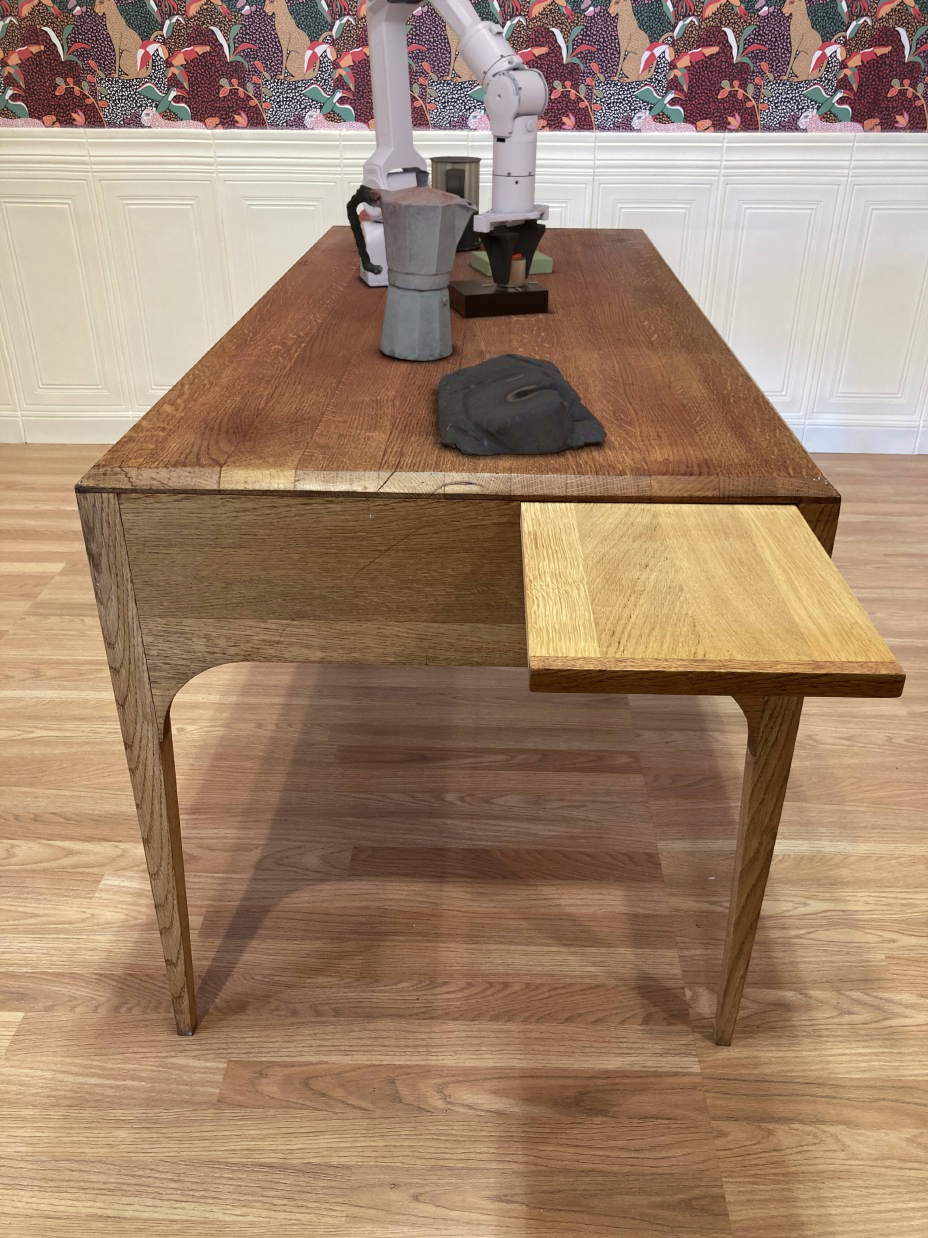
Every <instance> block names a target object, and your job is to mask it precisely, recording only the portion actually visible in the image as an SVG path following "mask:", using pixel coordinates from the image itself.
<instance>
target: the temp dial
mask: <svg viewBox="0 0 928 1238" xmlns="http://www.w3.org/2000/svg"><path fill="white" fill-rule="evenodd" d="M525 268H526V258H525V257H522V256H521V254H515V255H512V261H511V271H510V278H509V282H508V284H507V285H502V284H496V285H498V286H501V287H521V286H524V285H525Z"/></svg>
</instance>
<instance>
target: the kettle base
mask: <svg viewBox="0 0 928 1238" xmlns="http://www.w3.org/2000/svg"><path fill="white" fill-rule="evenodd" d="M553 261H554V259H553V257H550V256H549V255H546V254H545V253H542V252H540V251H538V250H536V251H535V254H534V257H533V260H532V264H531V267H530V271H529V275H532V274H533V275H534V274H536V275H537V274H549V273H551V274H552V273H553V265H554V264H553V263H554V262H553ZM471 266H472V268H475V269H476V270H478V271H480V272H481V273H482V274H484V275H486V276H487V277H492V272H491V267H490V263H489V259H488V256H487V253H486V250H483V251H482V250H481V251H471Z"/></svg>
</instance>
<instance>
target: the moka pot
mask: <svg viewBox="0 0 928 1238" xmlns="http://www.w3.org/2000/svg"><path fill="white" fill-rule="evenodd" d="M415 174H416V182H417V186H415V187H410V188H405V189H400V190H395V191H389V190H385V189H372V188H370V187H367V186H365V185H362V184H360V185H359V188H357V189H356V191H355V194H352V195H351V197H350V200H349V201H347V203H346V205H345V207H346V216H347V220H348V223H349V225H350V226H349V227H350V229H351V231H352V234H353V238H354V240H355V245H356V248H357V250H358V256H359V258H360V257H361V262H362V266H363V269H364V270H365V271H367V272H371V273H373V274H381V273H382V271H383V268H382V266H380V265H374V264H372V263H371V261H370V257H369V254H368V252H367V250H366V243H365V237H364V235H363V231H362V228H361V222H360V220H359V216H358V215H359V213H358V210H357V209H358V207H359V205H360V204H362V203H363V202H365V203H367V204H368V205H370V206H372V207H379V208H380V209H381V212H382V218H383V228H384V238H385V249H386V261H387V266H388V270H387V274H388V283H389V285H388V286H387V290H386V298H385V302H384V303H385V304H384V312H383V319H382V326H381V327H382V328H381V332H380V342H379V350H380V351H381V352H382V353H383V354H385V355H387V356H390V357H392V358H396V359H400V360H407V361H417V362H418V361H419V362H421V361H422V362H424V361H438V360H441V359H444V358H447V357H449V356H450V355H451V354H452V353H453V339H452V338H453V337H452V324H451V308H450V307H451V306H450V305H449V292H448V288H447V286H448V285H449V282H450V281H451V271H453V269H454V264H455V257H456V252H457V250H456V247H457V244H458V242H459V240H460V239H461V237H462V234H463V232H464V230H465V228H466V226H467V223H468V221H469V219H470V217H471V215H472V214H473V213H474V212H475V211H478V209H477V207H476V205H474V204H472V202H471V201H469V200H466V199H463V198H460V197H459V196H458V195H455V194H451V193H448V192H444V191H441V190H437V189H434V188H430V187H427V182H428V178H429V179H430V172H429V171H428V170H427V171H424V170H420V171H416V172H415Z"/></svg>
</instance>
